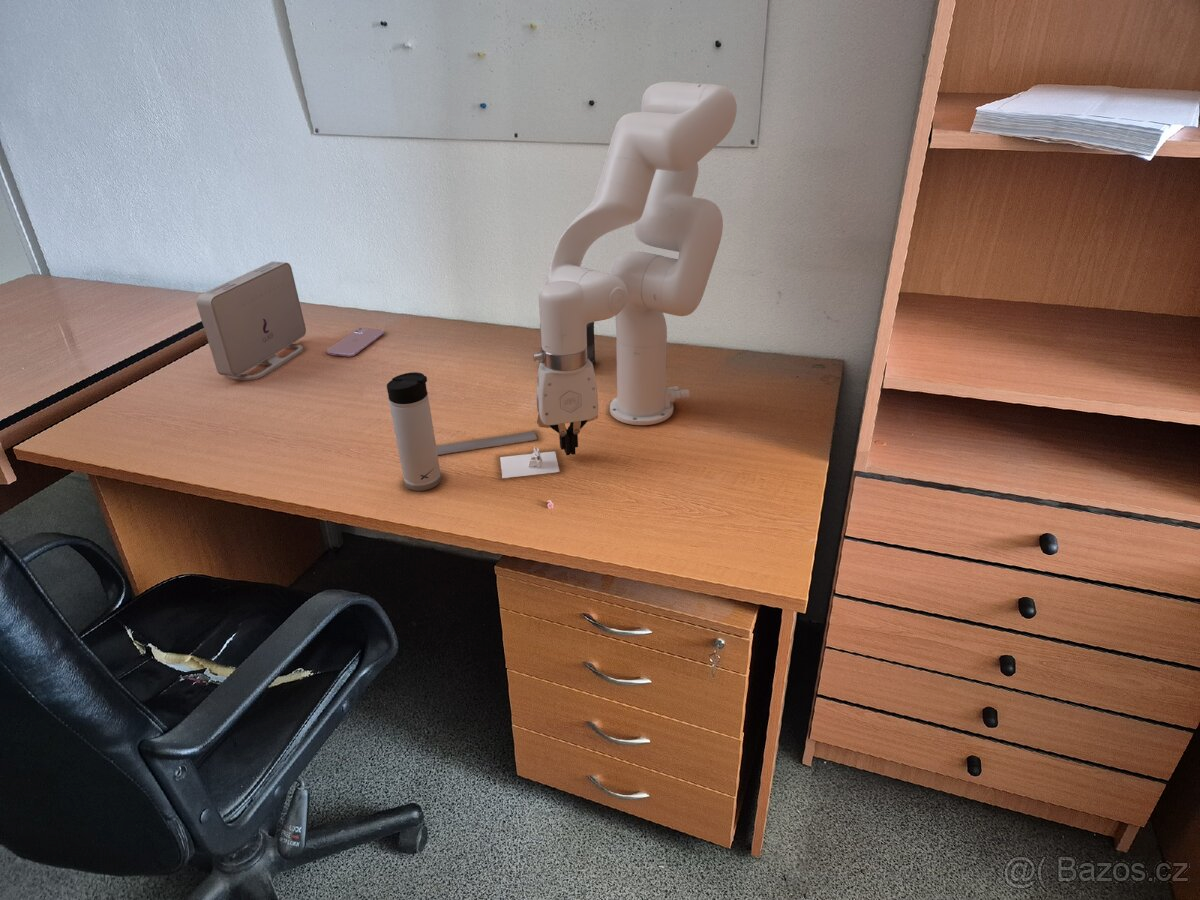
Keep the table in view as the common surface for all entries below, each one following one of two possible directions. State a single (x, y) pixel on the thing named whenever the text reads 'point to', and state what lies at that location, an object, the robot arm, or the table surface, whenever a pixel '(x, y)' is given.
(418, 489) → the travel mug
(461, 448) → the steel ruler
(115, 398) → the table surface
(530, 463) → the adhesive hook
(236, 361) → the network device
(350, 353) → the mobile phone
